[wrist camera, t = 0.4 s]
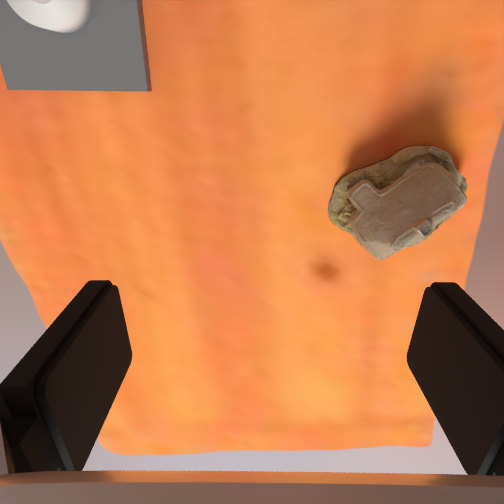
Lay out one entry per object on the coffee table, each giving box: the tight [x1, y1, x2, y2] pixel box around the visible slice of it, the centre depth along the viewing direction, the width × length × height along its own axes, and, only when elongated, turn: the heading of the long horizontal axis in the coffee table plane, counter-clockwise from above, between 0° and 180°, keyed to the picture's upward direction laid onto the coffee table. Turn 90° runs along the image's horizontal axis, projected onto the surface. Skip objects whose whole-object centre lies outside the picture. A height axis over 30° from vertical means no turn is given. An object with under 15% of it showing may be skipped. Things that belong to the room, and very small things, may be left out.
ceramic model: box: [328, 146, 468, 260], centre depth 35 cm, size 14×11×10 cm
